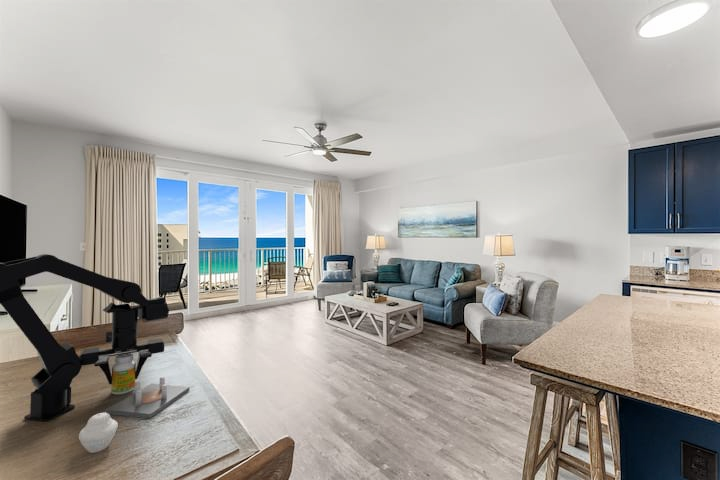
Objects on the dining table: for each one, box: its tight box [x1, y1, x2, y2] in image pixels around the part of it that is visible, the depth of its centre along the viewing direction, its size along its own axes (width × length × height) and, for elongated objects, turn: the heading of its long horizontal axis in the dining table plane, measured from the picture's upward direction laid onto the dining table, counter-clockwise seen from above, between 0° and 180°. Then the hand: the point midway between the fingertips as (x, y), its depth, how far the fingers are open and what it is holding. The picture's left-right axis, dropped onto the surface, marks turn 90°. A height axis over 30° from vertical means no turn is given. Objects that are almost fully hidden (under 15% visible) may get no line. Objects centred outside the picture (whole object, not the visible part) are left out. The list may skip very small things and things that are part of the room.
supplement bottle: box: [110, 353, 137, 395], centre depth 88 cm, size 5×5×10 cm
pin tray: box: [105, 376, 190, 419], centre depth 82 cm, size 14×12×4 cm
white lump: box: [78, 412, 119, 454], centre depth 64 cm, size 6×6×7 cm
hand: (123, 381), depth 88 cm, fingers closed on supplement bottle, 5 cm apart
